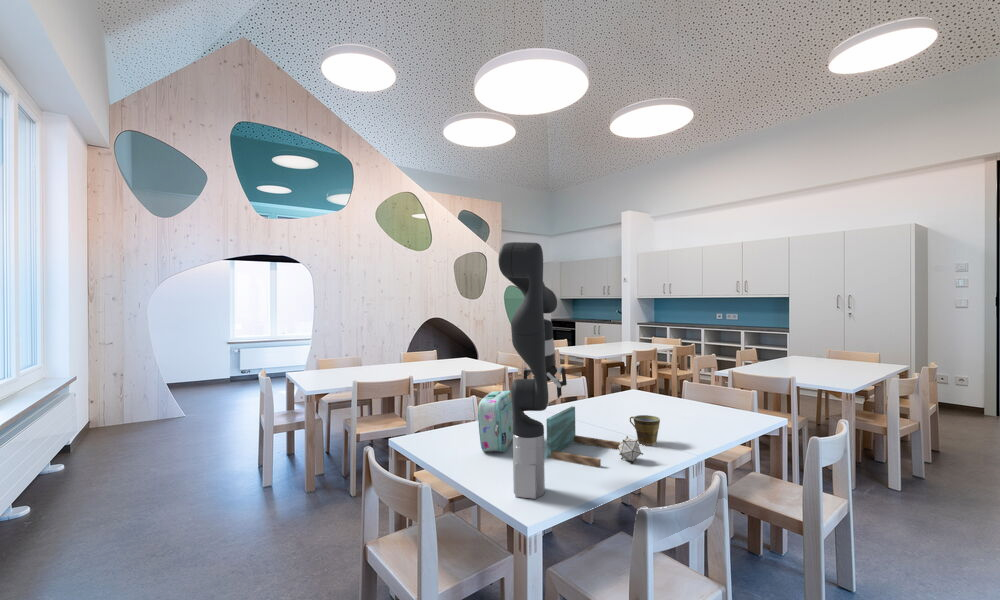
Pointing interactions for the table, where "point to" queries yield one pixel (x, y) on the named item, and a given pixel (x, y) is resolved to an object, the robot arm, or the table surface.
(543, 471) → the robot arm
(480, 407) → the lunch box
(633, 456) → the game die
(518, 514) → the table surface
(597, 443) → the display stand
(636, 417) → the ceramic cup
